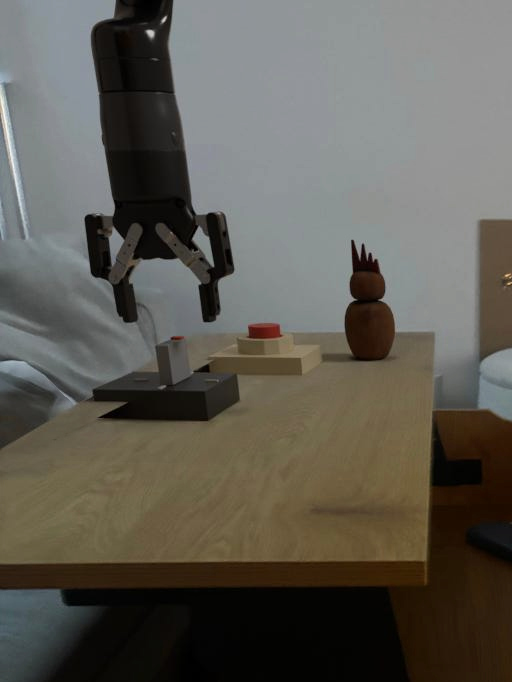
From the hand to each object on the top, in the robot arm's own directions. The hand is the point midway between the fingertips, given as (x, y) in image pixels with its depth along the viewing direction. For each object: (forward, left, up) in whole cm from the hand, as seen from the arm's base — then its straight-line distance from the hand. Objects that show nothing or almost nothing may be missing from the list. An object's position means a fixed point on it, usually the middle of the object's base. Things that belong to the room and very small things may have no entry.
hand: (170, 321), depth 102 cm
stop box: (+2, +25, -9) cm, 27 cm away
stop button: (+2, +25, -5) cm, 26 cm away
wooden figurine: (+14, +33, -9) cm, 37 cm away
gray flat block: (0, 0, -6) cm, 6 cm away
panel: (-1, 0, -9) cm, 9 cm away
